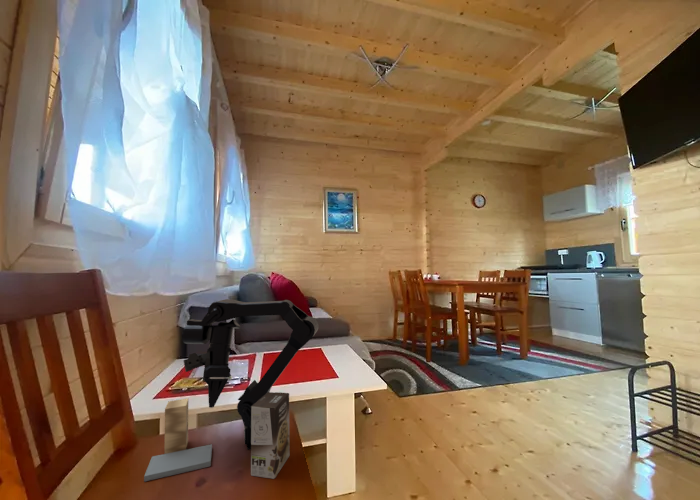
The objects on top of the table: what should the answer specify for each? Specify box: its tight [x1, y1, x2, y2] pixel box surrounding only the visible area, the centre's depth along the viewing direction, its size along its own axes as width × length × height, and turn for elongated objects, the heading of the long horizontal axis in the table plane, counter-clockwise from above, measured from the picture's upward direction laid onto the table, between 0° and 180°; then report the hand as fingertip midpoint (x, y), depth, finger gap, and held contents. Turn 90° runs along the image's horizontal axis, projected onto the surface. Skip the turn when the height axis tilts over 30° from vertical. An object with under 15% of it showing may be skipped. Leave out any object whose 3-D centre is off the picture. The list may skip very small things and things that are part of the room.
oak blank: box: [164, 398, 189, 454], centre depth 85 cm, size 5×5×12 cm
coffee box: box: [250, 391, 290, 480], centre depth 77 cm, size 9×6×16 cm
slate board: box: [143, 443, 213, 483], centre depth 78 cm, size 14×8×1 cm, turn 111°
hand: (210, 405), depth 83 cm, fingers open, 9 cm apart
